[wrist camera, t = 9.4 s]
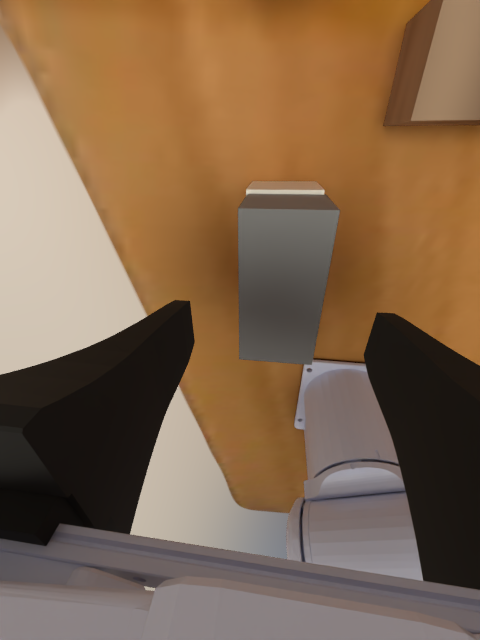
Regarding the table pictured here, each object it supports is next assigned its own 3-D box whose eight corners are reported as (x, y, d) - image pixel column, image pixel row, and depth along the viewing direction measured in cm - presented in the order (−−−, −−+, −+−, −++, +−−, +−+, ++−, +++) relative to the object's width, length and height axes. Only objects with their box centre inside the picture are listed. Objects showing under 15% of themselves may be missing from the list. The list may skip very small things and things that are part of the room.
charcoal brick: (306, 324, 18) (311, 364, 15) (246, 320, 19) (239, 359, 15) (325, 194, 14) (340, 210, 11) (247, 193, 14) (237, 208, 11)
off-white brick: (301, 294, 22) (305, 322, 18) (251, 292, 22) (245, 318, 19) (316, 181, 17) (324, 190, 14) (252, 180, 18) (246, 189, 14)
